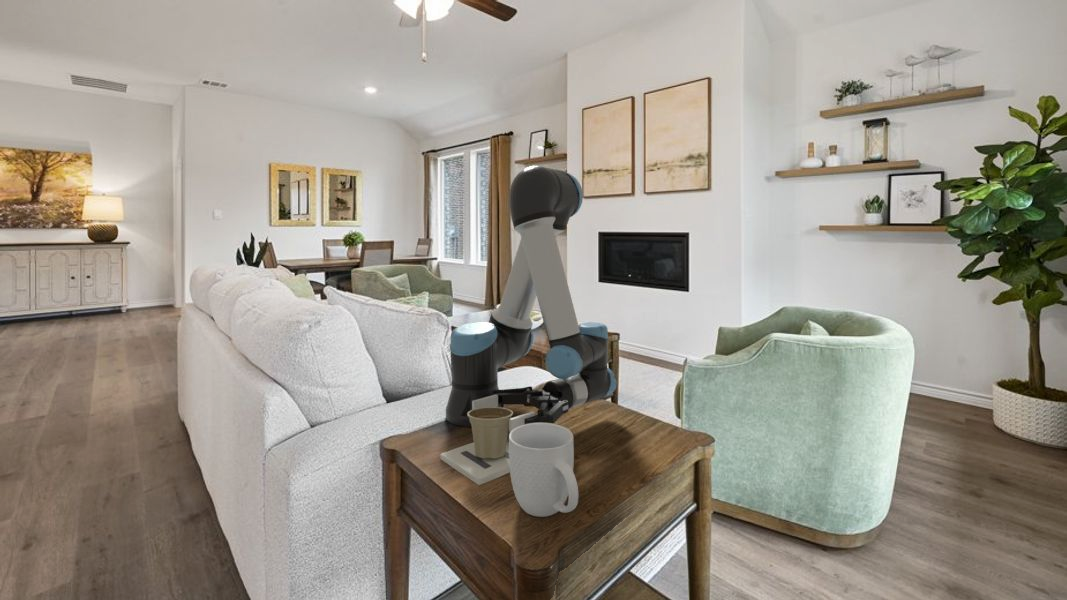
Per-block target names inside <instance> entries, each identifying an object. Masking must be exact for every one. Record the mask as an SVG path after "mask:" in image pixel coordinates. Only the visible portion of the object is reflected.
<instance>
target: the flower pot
mask: <svg viewBox="0 0 1067 600" xmlns="http://www.w3.org/2000/svg"><path fill="white" fill-rule="evenodd" d="M513 415H514V412H513V410H511V409H509V408H506V407H505V408H500V407H484V408H477V409H474V410H471V411H469V412H468V413H467V416H468V417H469V420H470V423H471V426H472V427H471V432H472V438H473V439H472V441H473V442H474V447H475V454H476V456H478V457H480V458H483V459H486V458H488V457H489V458H492V459H495V458H499V457H502V456H504V455H505V452H506V444H507V442H508V437H509V419H510V418H512V416H513Z"/></svg>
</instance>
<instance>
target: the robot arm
mask: <svg viewBox="0 0 1067 600" xmlns="http://www.w3.org/2000/svg"><path fill="white" fill-rule="evenodd" d="M583 196H584V193H583V189H582V186H581V184H580V182H579V180H578V179H577V177H575V176H574V175H572V174H571V173H569V172H566V171H565V170H561V169H557V168H556V169H555V168H550V167H544V166H542V165H532V166H529V167H526V168H523V169H522V170H521V171H519V172H518V173H517V174H516V175H515V176H514V178H513V180H512V181H511V185H510V189H509V194H508V205H509V212H510V218H511V221H512V225H513V229H514V231H516V232H517V233H519V234H520V240H519V243H518V247H517V251H516V253H515V256H514V259H513V260H514V261H513V263H512V266H511V270H510V271H509V272H510V273H509V276H508V279H507V281H506V285H505V288H504V291H503V294H502V297H501V299H500V304H499V306H498V307H497V308H495V309H492V311H491V313H490V317H489V320H488V321H475V322H472V323H464V324H461V325H459V326H457V327H455V328H454V329H453V330H452V332H451V333H450V342H449V343H450V344H449V351H450V352H449V353H450V370H451V371H450V372H451V374H450V376H451V390H450V393H449V397H448V400H447V402H446V403H447V405H446V407H445V419H446V421H447V422H448V423H450V424H452V425H455V426H460V427H466V428H468V427H469V428H470V427H471V428H472V426H471V423H470V420H469V417H468V416H467V413H468V412H469V411H471V410H474V409H477V408H484V407H500V408H506V406H508V405H523V406H524V407H525V408H526V407H535V408H536V409H537V411H535V410H533V411H530V412H527V413H526V412H525V413H523V414H520V415H517V416H514V417H511V418H510V419H509V429H508V433H510V432H511V431H512V430H513V429H515V428H517V427H519V426H522V425H525V424H530V423H552V424H556V421H558V420H559V419H560V418H561V417H562V416H563V415H564V414H567V413H569V409H575V407H579V406H581V405H585V404H588V403H591V402H594V401H597V400H598V401H599V400H602V399H604V398H606V397H608V396H610V395H612V394H613V393H614V392H615V390H616V388H617V379H616V378H615V373H614V372H613V370H611V369H610V368H609V367H608V352H609V351H608V349H609V348H608V345H609V344H608V343H609V335H608V334H609V333H608V326H607V324H604V323H600V322H582V323H580V324H579V323H578V319H577V314H576V312H575V307H574V303H573V299H572V295H571V292H570V287H569V285H568V279H567V276H566V273H565V268H564V265H563V261H562V257H561V252H560V249H559V245H558V242H557V241H558V240H557V236H558V235H560V234H561V233H563V232H565V231H566V229H567V226H568V224H569V220H570V219H571V217H573V216H574V215H576V214H577V213H578V212H579V210H580V209H581V207H582V204H583V198H584V197H583ZM536 299H537V302H538V306H539V310H540V314H541V317H542V322H543V325H544V328H545V329H544V330H545V333H546V336H547V340H548V344H549V350H548V351H547V353H546V356H545V366H546V368H547V371H548V372H549V373H550V375H552V376H553V377H555V378H556V379H553V380H549V381H547V382H546V383H545V384H544V385H543V387H542V389H535V390H533V386H526V387H518V388H507V389H500V388H499V384H498V382H499V381H498V377H499V376H498V369H499V368H502V367H504V366H507V365H509V364H512V363H514V362H517V361H520V360H521V359H522V358H524V356H525V357H526V355H527V354H528V353H529V352H530V350H531V348H532V346H533V343H534V333H533V332H532V330H533V329H532V328H533V321H532V319H531V318H530V315H531V313H532V310H533V308H534V304H535V301H536ZM505 405H506V406H505Z"/></svg>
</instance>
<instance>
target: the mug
mask: <svg viewBox="0 0 1067 600" xmlns="http://www.w3.org/2000/svg"><path fill="white" fill-rule="evenodd" d="M508 442H509V464H510V473H509V474H510V479H511V486H512V490H513V493H514V496H515V498H516V501H517V502H518V504H519V505H520V507H521V509H522V510H523V511H524V512H525V513H526V514H528V515H531V516H533V517H539V518H545V517H550V516H553V515H555V514H557V513H558V512H560V513H564V514H565V513H570V512H572V511H574V510H575V509H576V507H577V506H578V503H579V488H578V483H577V478H576V475H575V473H574V466H575V465H574V462H575V459H574V458H575V456H574V453H575V451H574V449H575V448H574V434H573V432H572V431H571V430H570V429H569V428H567V427H566V426H563V425H561V424H560V425H559V424H556V423H554V424H552V423H530V424H525V425H522V426H519V427H517V428H515V429H513V430H512V431H511V432H509V433H508ZM567 498H568V499H567ZM567 500H568V502H567V505H565V503H566V501H567Z"/></svg>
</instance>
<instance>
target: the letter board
mask: <svg viewBox="0 0 1067 600" xmlns="http://www.w3.org/2000/svg"><path fill="white" fill-rule="evenodd" d="M440 460H441V461H443V462H444V463H446V464H447V465H449V466H450V467H451V468H453V469H454V470H456V471H458V472H459V473H460V474H461V475H463V476H464V477H466V478H467V479H469V480H470V481H472V482H473V483H475V484H476V485H478V486H481V485H483V484H485V483H488V482H490V481H492V480H495V479H497V478H498V479H499V478H500V477H502V476H506V475H507V474H510V464H509V441H507V444H506V452H505V455H504V456H502V457H499V458H495V459H492V458H489V457H488V458H486V459H483V458H480V457H478V456H476V454H475V447H474V441H473V442H471V443H467V444H465V445H462V446H459V447H456V448H452V449H451V450H448V451H444V452H442V453H440Z"/></svg>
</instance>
